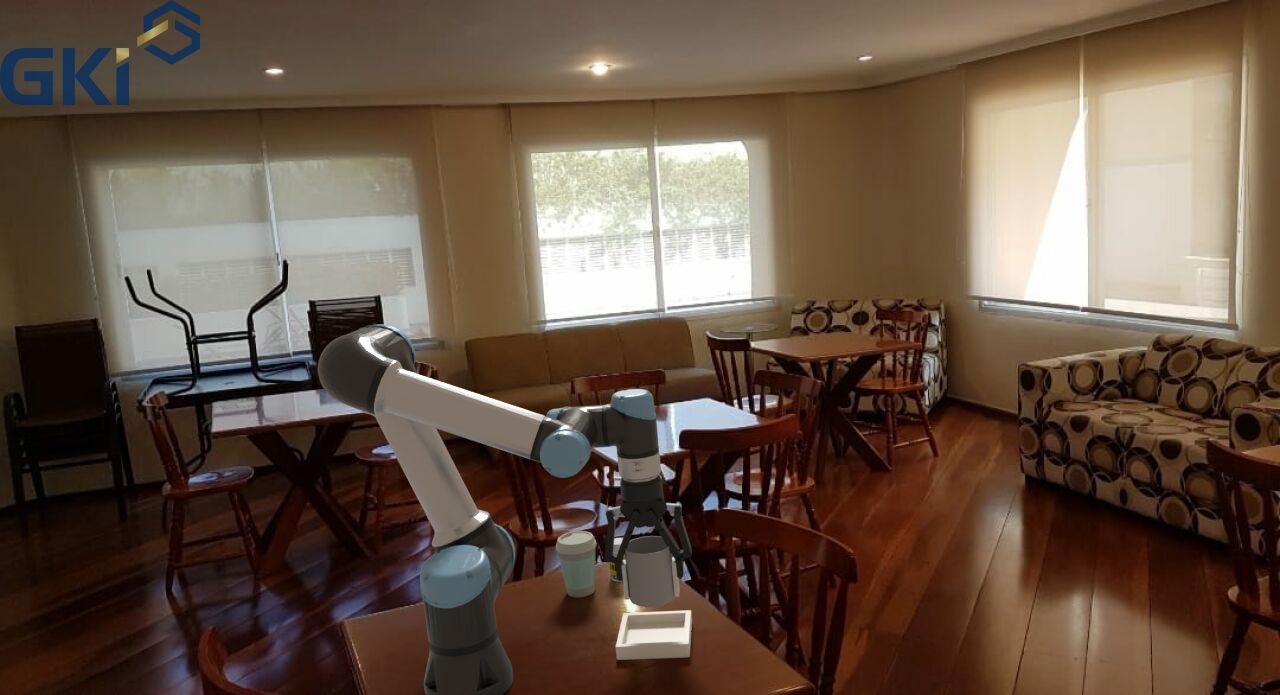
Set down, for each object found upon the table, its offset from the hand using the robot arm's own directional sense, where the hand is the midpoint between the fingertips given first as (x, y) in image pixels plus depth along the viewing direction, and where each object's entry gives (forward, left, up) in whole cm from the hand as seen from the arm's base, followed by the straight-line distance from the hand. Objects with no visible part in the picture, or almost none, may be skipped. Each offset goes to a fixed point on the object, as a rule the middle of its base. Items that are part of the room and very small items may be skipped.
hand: (652, 594), depth 165 cm
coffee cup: (-18, +22, -9) cm, 30 cm away
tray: (0, 0, -9) cm, 9 cm away
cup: (0, 0, -1) cm, 1 cm away
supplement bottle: (-10, +28, -9) cm, 31 cm away
